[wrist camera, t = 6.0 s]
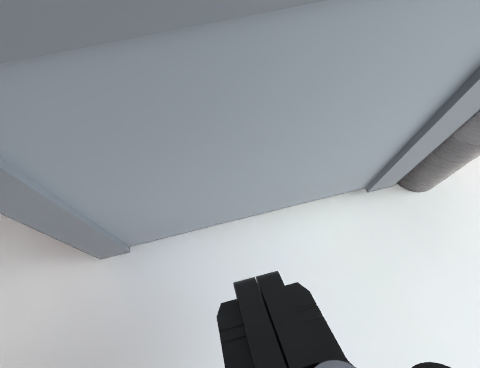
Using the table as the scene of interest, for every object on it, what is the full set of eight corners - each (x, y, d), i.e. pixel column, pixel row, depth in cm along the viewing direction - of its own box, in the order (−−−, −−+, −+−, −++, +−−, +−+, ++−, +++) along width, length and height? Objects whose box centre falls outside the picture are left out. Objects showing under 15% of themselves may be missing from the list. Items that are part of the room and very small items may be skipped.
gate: (380, 158, 21) (713, -224, 6) (393, 186, 21) (793, -169, 6) (96, 227, 20) (-347, -69, 5) (100, 259, 19) (-400, 30, 4)
